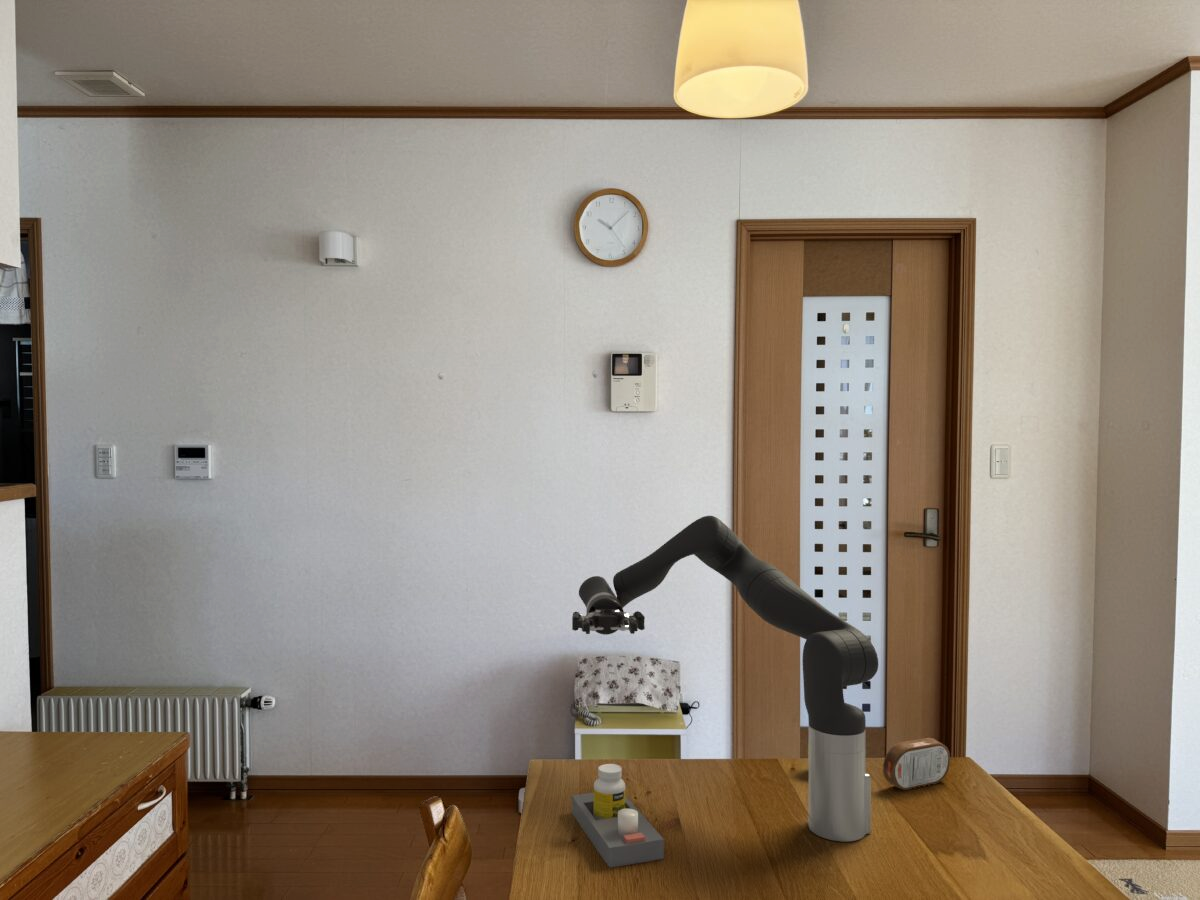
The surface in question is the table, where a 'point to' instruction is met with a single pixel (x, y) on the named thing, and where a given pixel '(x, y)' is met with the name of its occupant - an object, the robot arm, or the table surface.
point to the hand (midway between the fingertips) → (610, 628)
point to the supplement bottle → (608, 792)
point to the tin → (916, 763)
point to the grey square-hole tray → (619, 833)
